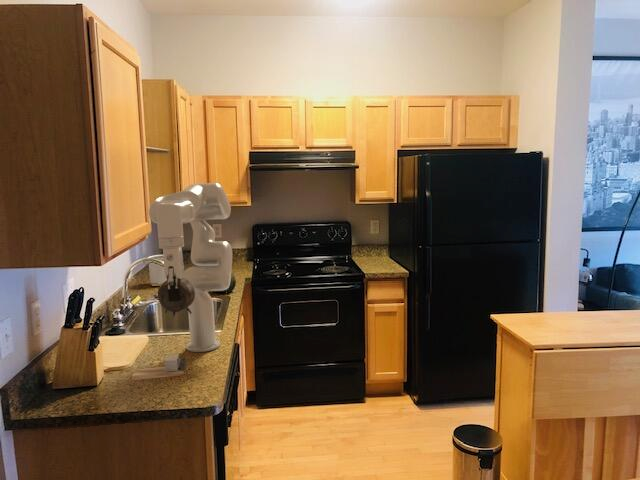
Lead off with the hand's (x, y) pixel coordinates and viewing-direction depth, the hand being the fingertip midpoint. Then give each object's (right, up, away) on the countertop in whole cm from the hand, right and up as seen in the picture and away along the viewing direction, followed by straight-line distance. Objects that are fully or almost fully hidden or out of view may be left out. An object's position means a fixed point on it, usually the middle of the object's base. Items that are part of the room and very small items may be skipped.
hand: (175, 297), depth 148 cm
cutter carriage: (-3, -25, +8) cm, 26 cm away
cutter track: (-8, -27, +8) cm, 29 cm away
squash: (-9, -11, +115) cm, 116 cm away
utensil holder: (-51, -9, +137) cm, 147 cm away
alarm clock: (0, -6, +1) cm, 6 cm away
